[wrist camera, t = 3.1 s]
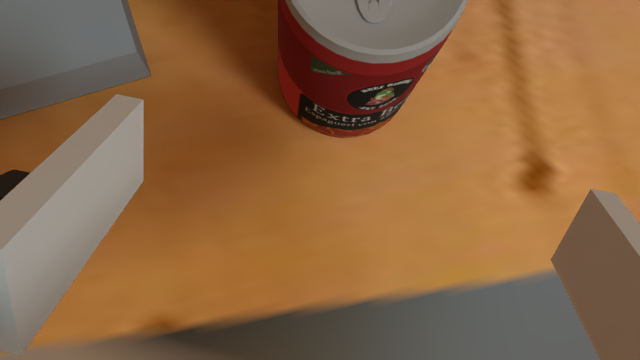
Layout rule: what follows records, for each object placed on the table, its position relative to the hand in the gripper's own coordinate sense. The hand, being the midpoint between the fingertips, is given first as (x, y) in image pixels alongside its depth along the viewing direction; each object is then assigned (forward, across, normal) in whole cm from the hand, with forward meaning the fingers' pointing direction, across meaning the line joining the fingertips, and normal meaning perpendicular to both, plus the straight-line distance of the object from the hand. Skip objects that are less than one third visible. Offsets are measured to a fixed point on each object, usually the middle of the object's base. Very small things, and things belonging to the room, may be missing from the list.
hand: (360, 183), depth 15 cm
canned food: (+16, 0, -3) cm, 16 cm away
